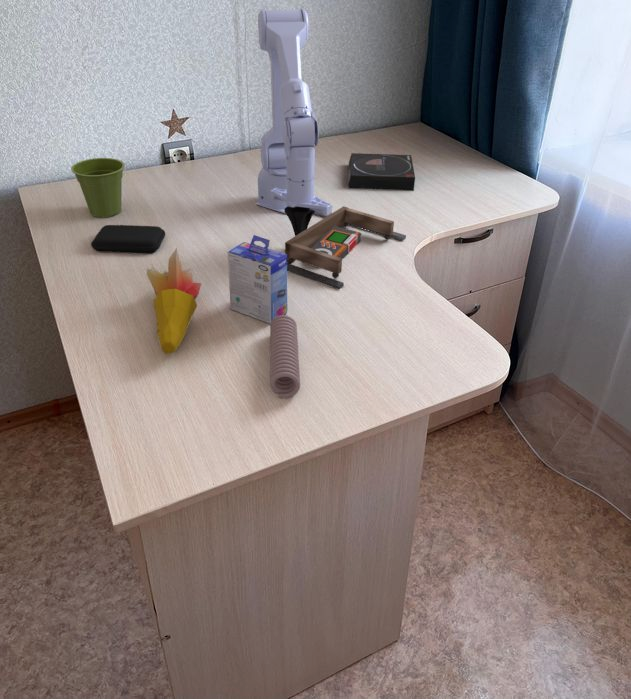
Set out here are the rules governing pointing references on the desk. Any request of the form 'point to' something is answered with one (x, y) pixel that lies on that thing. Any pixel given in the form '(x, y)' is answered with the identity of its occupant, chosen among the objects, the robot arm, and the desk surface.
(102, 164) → the plant pot
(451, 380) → the desk surface
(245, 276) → the ink cartridge box
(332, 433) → the desk surface
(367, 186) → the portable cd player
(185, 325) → the torch
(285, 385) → the coil
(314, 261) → the dolly
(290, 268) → the track
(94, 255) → the desk surface
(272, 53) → the robot arm
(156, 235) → the carrying case or bag
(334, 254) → the electronic device
